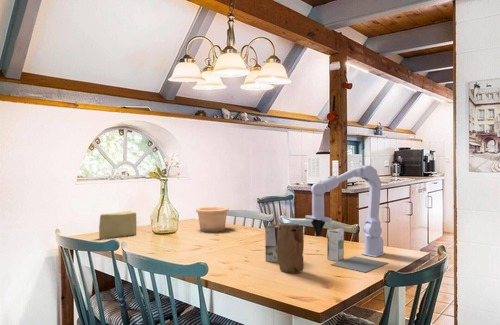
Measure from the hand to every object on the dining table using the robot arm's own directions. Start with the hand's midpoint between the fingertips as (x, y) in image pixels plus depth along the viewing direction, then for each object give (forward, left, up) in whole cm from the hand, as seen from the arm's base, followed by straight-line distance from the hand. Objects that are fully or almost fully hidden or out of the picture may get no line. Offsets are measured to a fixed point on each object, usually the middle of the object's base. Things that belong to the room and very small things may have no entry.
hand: (318, 235), depth 190 cm
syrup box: (0, +10, -10) cm, 14 cm away
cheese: (+47, -119, -10) cm, 129 cm away
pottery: (-8, -93, -10) cm, 94 cm away
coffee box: (+20, -10, -10) cm, 25 cm away
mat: (0, +22, -10) cm, 24 cm away
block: (+29, +7, -10) cm, 31 cm away
